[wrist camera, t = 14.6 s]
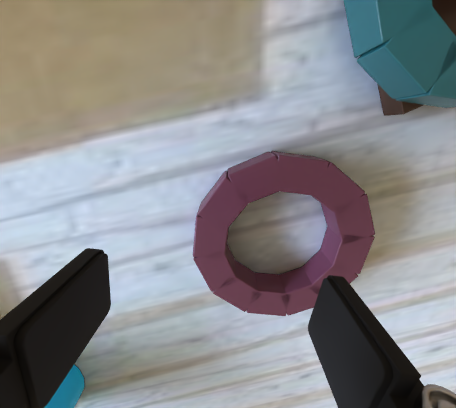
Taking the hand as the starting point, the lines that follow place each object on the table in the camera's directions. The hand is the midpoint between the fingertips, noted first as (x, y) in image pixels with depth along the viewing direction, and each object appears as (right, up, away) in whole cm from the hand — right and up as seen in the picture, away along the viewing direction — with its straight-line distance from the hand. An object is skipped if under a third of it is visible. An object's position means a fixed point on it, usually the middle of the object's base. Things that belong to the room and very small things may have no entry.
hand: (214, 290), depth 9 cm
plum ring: (+4, +2, +6) cm, 7 cm away
